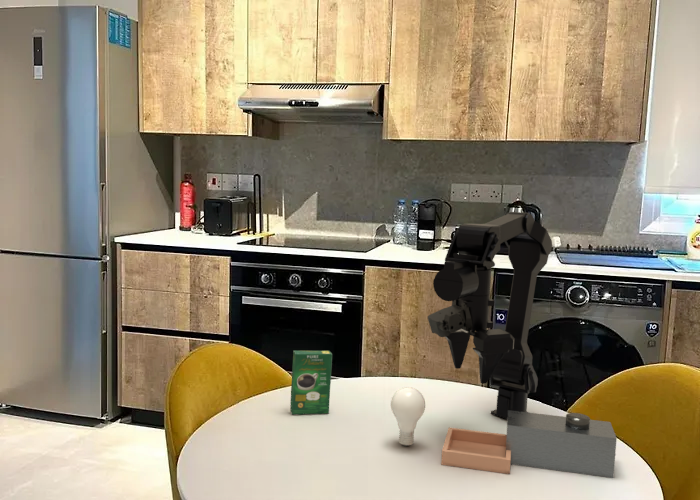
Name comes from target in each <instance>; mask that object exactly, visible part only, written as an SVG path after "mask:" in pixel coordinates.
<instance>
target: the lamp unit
mask: <svg viewBox="0 0 700 500" xmlns="http://www.w3.org/2000/svg"><path fill="white" fill-rule="evenodd" d="M528 412H529V411H527V412H520V411H511V410H508V419H506V450H511V461H510V465H514V466H522V467H528V468H529V467H531V468H537V469H545V470H550V471H551V470H552V471H559V472H566V473H567V472H568V473H574V474H581V475H589V476H595V477H605V478H610V479H614V475H615V474H614V473H615V472H614V471H615V461H616V451H617V441H618V440H617V439H618V438H617V435H616V433H615V430H614V428H613V426H612V422H610V421H606V420H605V421H603V420H597V419H596V420H594V419H591V418H590V416H588V415H586V414H583V413H580V412H568V413H566V414H565V416H562V415H552V414H551V415H550V414H546V413H545V414H543V413H535V412H529V413H528ZM505 457H506V451H505Z"/></svg>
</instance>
